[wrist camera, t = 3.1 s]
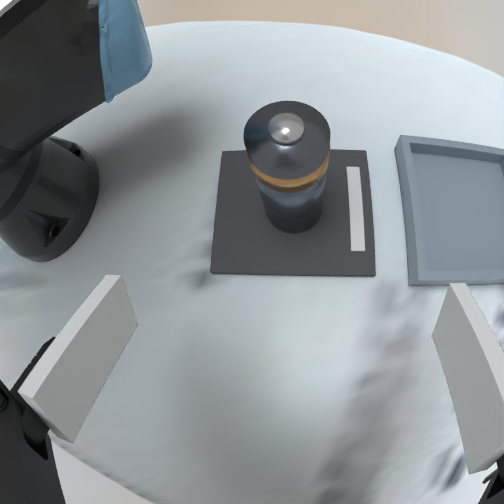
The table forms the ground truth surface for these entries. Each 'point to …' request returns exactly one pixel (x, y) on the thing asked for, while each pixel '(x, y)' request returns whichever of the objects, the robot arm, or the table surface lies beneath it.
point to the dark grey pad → (295, 244)
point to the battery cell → (289, 162)
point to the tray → (452, 210)
